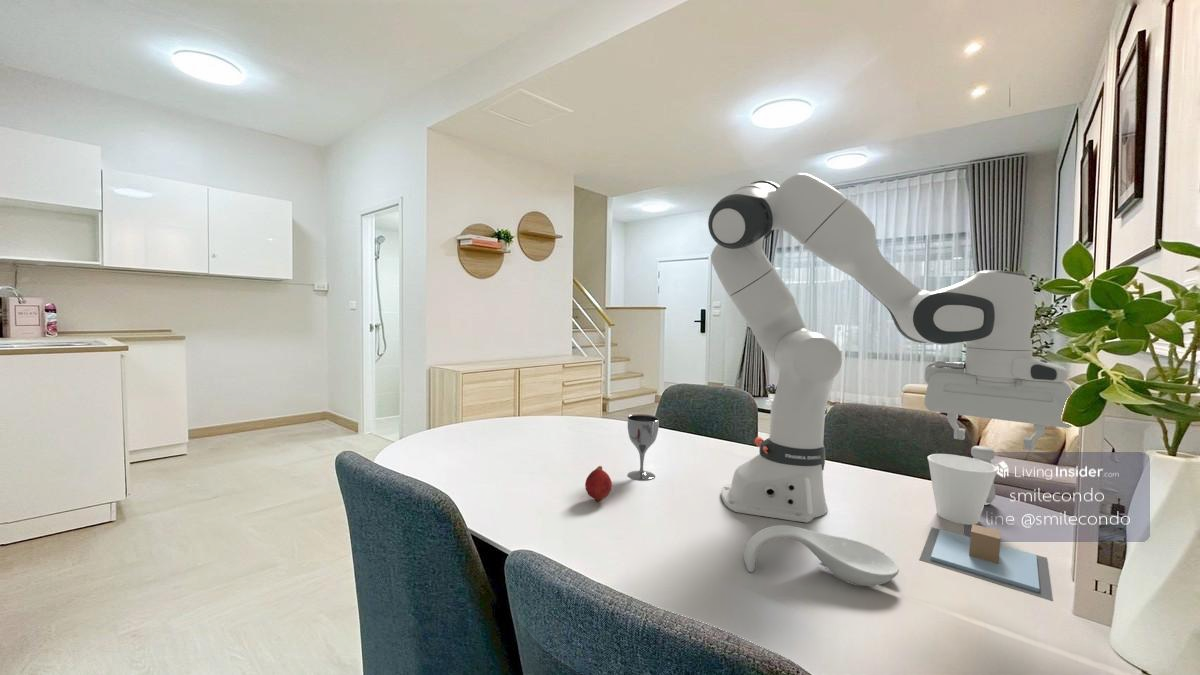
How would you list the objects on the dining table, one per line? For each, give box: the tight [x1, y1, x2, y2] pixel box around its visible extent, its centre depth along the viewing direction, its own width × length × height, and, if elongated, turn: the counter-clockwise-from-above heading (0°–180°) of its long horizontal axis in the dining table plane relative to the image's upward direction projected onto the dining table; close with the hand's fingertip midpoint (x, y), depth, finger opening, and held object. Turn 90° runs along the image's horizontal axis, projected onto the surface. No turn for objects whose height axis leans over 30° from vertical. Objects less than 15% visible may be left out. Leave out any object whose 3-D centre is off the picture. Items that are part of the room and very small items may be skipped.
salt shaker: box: [970, 445, 996, 504], centre depth 111 cm, size 6×6×13 cm
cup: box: [927, 453, 999, 526], centre depth 101 cm, size 12×12×12 cm
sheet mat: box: [918, 527, 1054, 602], centre depth 85 cm, size 17×17×1 cm
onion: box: [584, 465, 613, 503], centre depth 106 cm, size 6×6×8 cm
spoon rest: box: [743, 524, 900, 587], centre depth 80 cm, size 24×12×7 cm, turn 84°
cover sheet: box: [931, 524, 1040, 592], centre depth 84 cm, size 14×14×5 cm
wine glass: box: [627, 413, 660, 482], centre depth 123 cm, size 8×8×15 cm
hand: (992, 443), depth 84 cm, fingers open, 8 cm apart
